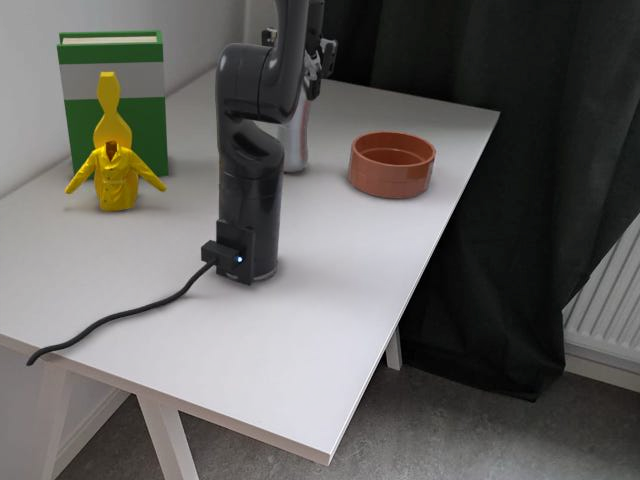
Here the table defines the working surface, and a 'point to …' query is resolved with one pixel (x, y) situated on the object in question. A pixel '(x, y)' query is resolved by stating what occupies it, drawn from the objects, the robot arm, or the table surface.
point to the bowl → (391, 164)
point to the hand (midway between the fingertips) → (294, 95)
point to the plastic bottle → (296, 132)
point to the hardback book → (135, 97)
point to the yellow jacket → (113, 155)
